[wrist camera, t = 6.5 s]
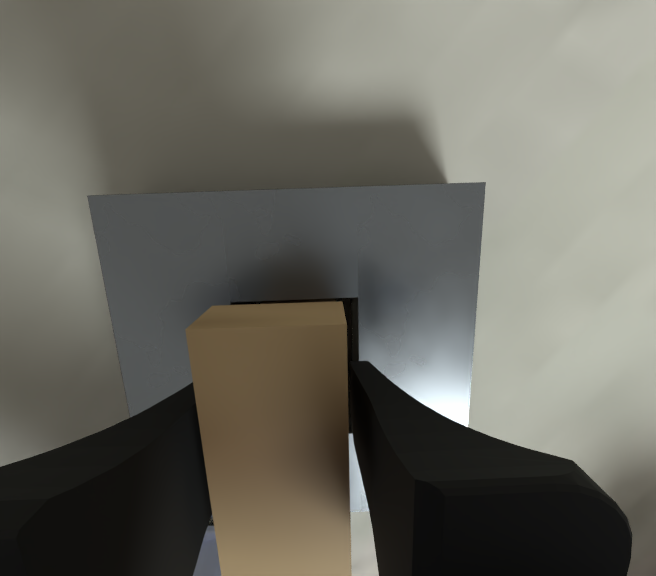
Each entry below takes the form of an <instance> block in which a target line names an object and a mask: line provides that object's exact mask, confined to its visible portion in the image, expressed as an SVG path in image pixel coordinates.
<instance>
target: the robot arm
mask: <svg viewBox="0 0 656 576" xmlns="http://www.w3.org/2000/svg"><path fill="white" fill-rule="evenodd" d="M350 401H351V423H352V432H353V441H354V447H355V451H356V456H357V460H358V464H359V469H360V473H361V477H362V482H363V486H364V490H365V494H366V499H367V503H368V507H369V512H370V517H371V522H372V528H373V535H374V542H375V549H376V557H377V564H378V571H379V576H627V572H628V568H629V564H630V559H631V547H632V532H631V529H630V526H629V522H628V519H627V517H626V516H625V514H624V513H623V512H622V510H621V509H620V508H619V506H618V505H617V504H616V502H615V501H614V500H613V499H611V498H610V497H609V496H608V495H607V494H606V493H605V492H604V491H603V490H602V489H601V488H600V487H599V486H598V485H597V484H596V483H595V482H594V481H593V480H592V479H591V478H590V477H589V476H588V475H587V474H586V473H585V472H584V471H583V470H582V469H581V468H580V467H579V466H578V465H577V464H576V463H575V462H573V461H572V460H568V459H565V458H561V457H557V456H553V455H550V454H546V453H542V452H538V451H535V450H531V449H527V448H524V447H520V446H517V445H514V444H511V443H508V442H505V441H502V440H499V439H497V438H494V437H491V436H488V435H486V434H483V433H480V432H478V431H475V430H473V429H471V428H469V427H466V426H464V425H462V424H460V423H457V422H455V421H453V420H451V419H449V418H447V417H445V416H443V415H441V414H439V413H438V412H436V411H434V410H432V409H431V408H429V407H427V406H425V405H424V404H422V403H421V402H419V401H417V400H416V399H415V398H413V397H412V396H410V395H409V394H407V393H406V392H405V391H403V390H402V389H401V388H399V387H398V386H397V385H395V384H394V383H393V382H392V381H391V380H389V379H388V378H387V377H386V376H385V375H383V374H382V373H381V372H380V371H379V370H378V369H377V368H376V367H375V366H373V365H372V364H371V363H370V362H369V361H350ZM211 515H212V508H211V501H210V495H209V488H208V481H207V474H206V467H205V461H204V454H203V447H202V440H201V433H200V427H199V420H198V413H197V406H196V399H195V393H194V386H193V382H192V383H191V384H189V385H187V386H186V387H184V388H183V389H181V390H179V391H178V392H176V393H174V394H173V395H171V396H169V397H167V398H166V399H164V400H162V401H160V402H159V403H157V404H155V405H153V406H152V407H150V408H148V409H146V410H144V411H142V412H141V413H139V414H137V415H135V416H133V417H131V418H129V419H127V420H124V421H122V422H120V423H118V424H116V425H114V426H112V427H109V428H107V429H105V430H102V431H100V432H98V433H95V434H93V435H90V436H87V437H85V438H82V439H80V440H77V441H75V442H72V443H70V444H67V445H65V446H62V447H59V448H57V449H54V450H51V451H48V452H45V453H42V454H39V455H36V456H33V457H30V458H27V459H24V460H21V461H18V462H15V463H11V464H8V465H5V466H2V467H0V576H221V570H220V563H219V556H218V549H217V542H216V536H215V529H214V526H208V524H209V521H210V518H211Z"/></svg>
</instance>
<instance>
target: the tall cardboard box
mask: <svg viewBox="0 0 656 576" xmlns="http://www.w3.org/2000/svg"><path fill="white" fill-rule="evenodd" d="M185 331H186V338H187V345H188V352H189V359H190V365H191V372H192V379H193V386H194V393H195V399H196V406H197V413H198V420H199V427H200V433H201V440H202V447H203V454H204V461H205V467H206V474H207V481H208V488H209V495H210V501H211V508H212V515H213V522H214V529H215V536H216V542H217V549H218V556H219V563H220V570H221V576H351V528H350V473H349V419H348V365H347V323H346V318H345V312H344V307H343V302H342V301H338V302H336V298H328V299H301V300H275V301H262V302H261V303H260V304H248V305H218V306H211V307H210V308H209V309H208V310H207V311H206V312H205V313H203V314H202V315H201V316H200V317H199V318H198V319H197V320H195V321H194V322H193V323H192V324H191V325H190V326H189V327H188V328H186V329H185Z"/></svg>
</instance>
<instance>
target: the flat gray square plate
mask: <svg viewBox="0 0 656 576" xmlns="http://www.w3.org/2000/svg"><path fill="white" fill-rule="evenodd" d="M485 184H486V182H480V183H450V184H420V185H390V186H360V187H330V188H300V189H271V190H241V191H211V192H181V193H151V194H121V195H91V196H87V197H88V202H89V207H90V212H91V217H92V222H93V228H94V233H95V238H96V243H97V248H98V253H99V259H100V264H101V269H102V274H103V279H104V284H105V290H106V295H107V300H108V305H109V310H110V315H111V321H112V326H113V331H114V336H115V341H116V346H117V352H118V357H119V362H120V367H121V372H122V377H123V383H124V388H125V393H126V398H127V403H128V408H129V414H130V418H131V417H133V416H135V415H137V414H139V413H141V412H142V411H144V410H146V409H148V408H150V407H152V406H153V405H155V404H157V403H159V402H160V401H162V400H164V399H166V398H167V397H169V396H171V395H173V394H174V393H176V392H178V391H179V390H181V389H183V388H184V387H186V386H187V385H189V384H191V383H192V382H193V379H192V372H191V365H190V359H189V352H188V345H187V338H186V331H185V329H186V328H188V327H189V326H190V325H191V324H192V323H193V322H194V321H195V320H197V319H198V318H199V317H200V316H201V315H202V314H203V313H205V312H206V311H207V310H208V309H209V308H210V307H211V306H218V305H248V304H251V301H275V300H301V299H328V298H351V326H352V361H369V362H370V363H371V364H372V365H373V366H375V367H376V368H377V369H378V370H379V371H380V372H381V373H382V374H383V375H385V376H386V377H387V378H388V379H389V380H391V381H392V382H393V383H394V384H395V385H397V386H398V387H399V388H401V389H402V390H403V391H405V392H406V393H407V394H409V395H410V396H412V397H413V398H415V399H416V400H417V401H419V402H421V403H422V404H424V405H425V406H427V407H429V408H431V409H432V410H434V411H436V412H438V413H439V414H441V415H443V416H445V417H447V418H449V419H451V420H453V421H455V422H457V423H460V424H462V425H464V426H466V427H468V418H469V404H470V390H471V377H472V363H473V349H474V335H475V322H476V308H477V294H478V280H479V267H480V253H481V239H482V225H483V212H484V198H485ZM348 419H349V473H350V512H359V511H369V507H368V503H367V499H366V494H365V490H364V486H363V482H362V477H361V473H360V469H359V464H358V460H357V456H356V451H355V447H354V441H353V432H352V423H351V401H350V392H348ZM211 518H213V515H211Z"/></svg>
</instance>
